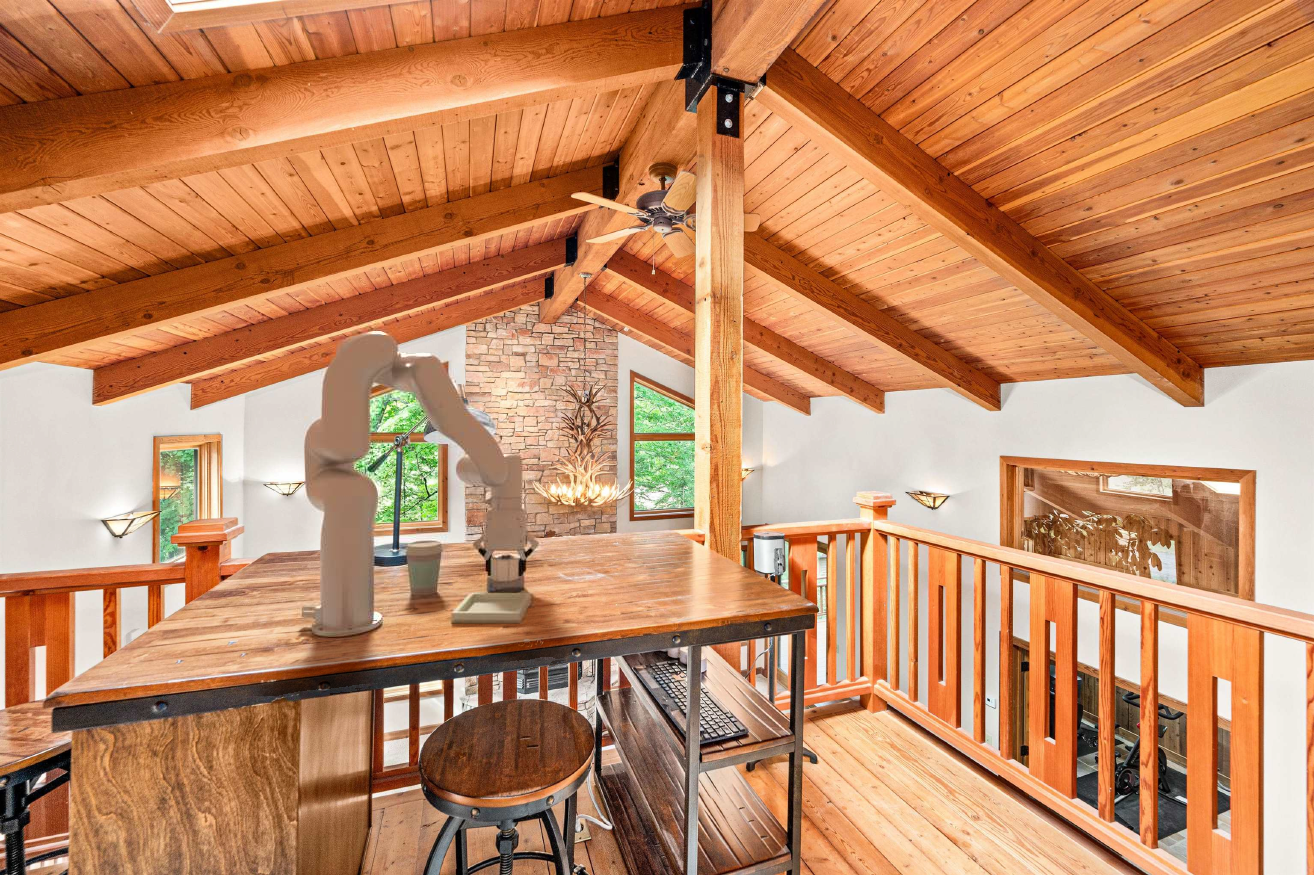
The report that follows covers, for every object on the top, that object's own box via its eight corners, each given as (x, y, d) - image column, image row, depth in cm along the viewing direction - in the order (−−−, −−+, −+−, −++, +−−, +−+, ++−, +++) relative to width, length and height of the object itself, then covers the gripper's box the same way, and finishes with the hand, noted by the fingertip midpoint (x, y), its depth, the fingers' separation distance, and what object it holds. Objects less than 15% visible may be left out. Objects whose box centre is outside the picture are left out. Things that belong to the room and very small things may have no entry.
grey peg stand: (482, 594, 139) (483, 559, 139) (491, 584, 148) (492, 551, 148) (520, 594, 139) (520, 559, 139) (527, 584, 148) (527, 551, 148)
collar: (488, 581, 140) (488, 560, 140) (495, 573, 147) (495, 554, 147) (517, 581, 140) (517, 560, 140) (522, 573, 147) (522, 554, 147)
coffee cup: (448, 588, 144) (449, 540, 143) (432, 598, 135) (432, 548, 135) (416, 586, 144) (416, 539, 144) (397, 597, 136) (397, 546, 136)
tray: (451, 622, 119) (451, 612, 119) (470, 601, 133) (470, 592, 133) (519, 623, 120) (519, 613, 120) (531, 601, 134) (531, 592, 134)
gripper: (466, 505, 139) (466, 578, 139) (539, 506, 140) (538, 579, 140) (475, 501, 146) (474, 570, 147) (544, 501, 147) (543, 570, 148)
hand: (505, 574), depth 143 cm, fingers closed on collar, 7 cm apart
